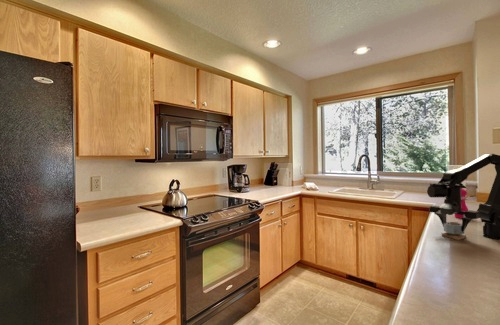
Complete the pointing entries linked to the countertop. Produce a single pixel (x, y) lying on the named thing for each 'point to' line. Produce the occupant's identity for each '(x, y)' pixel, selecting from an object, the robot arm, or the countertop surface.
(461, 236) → the post stand
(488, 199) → the robot arm
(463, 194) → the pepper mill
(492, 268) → the countertop surface
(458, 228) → the steel collar
